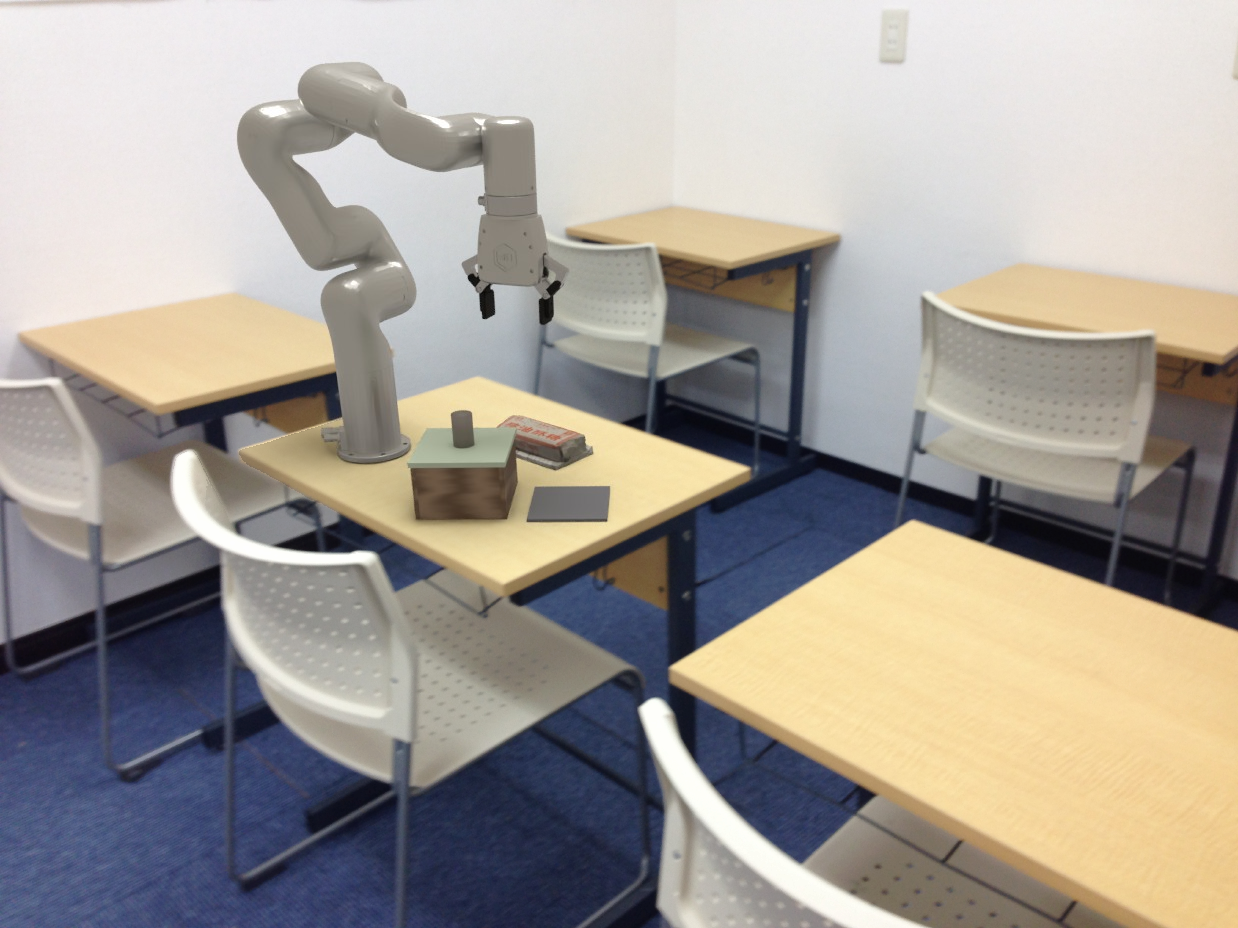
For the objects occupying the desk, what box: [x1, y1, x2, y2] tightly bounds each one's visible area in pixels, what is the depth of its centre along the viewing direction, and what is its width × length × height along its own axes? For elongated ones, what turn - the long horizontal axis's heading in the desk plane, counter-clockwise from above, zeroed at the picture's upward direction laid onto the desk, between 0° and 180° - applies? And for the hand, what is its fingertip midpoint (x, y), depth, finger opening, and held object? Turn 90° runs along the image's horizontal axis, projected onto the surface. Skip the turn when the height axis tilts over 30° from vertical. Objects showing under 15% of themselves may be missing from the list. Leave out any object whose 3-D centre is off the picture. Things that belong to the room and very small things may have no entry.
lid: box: [406, 409, 517, 469], centre depth 159 cm, size 14×14×7 cm
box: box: [409, 439, 519, 520], centre depth 161 cm, size 14×14×8 cm
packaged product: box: [495, 414, 594, 471], centre depth 181 cm, size 18×5×10 cm
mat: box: [526, 485, 611, 523], centre depth 160 cm, size 12×12×1 cm
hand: (517, 320), depth 159 cm, fingers open, 9 cm apart
